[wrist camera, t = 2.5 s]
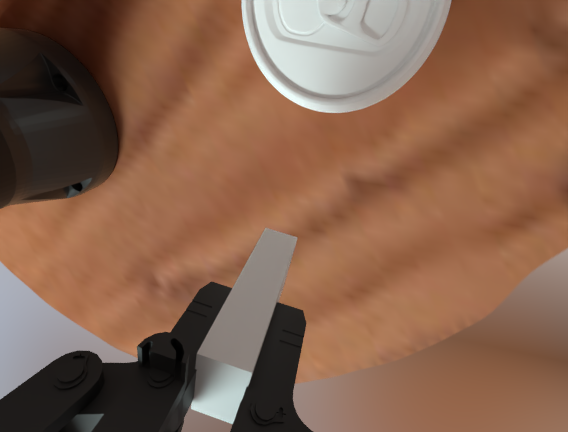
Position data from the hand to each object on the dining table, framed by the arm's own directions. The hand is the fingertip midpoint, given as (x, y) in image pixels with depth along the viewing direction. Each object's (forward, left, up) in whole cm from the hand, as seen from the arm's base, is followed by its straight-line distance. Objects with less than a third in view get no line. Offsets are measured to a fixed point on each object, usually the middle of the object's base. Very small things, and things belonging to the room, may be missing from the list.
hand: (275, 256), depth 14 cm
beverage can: (0, +10, -14) cm, 17 cm away
